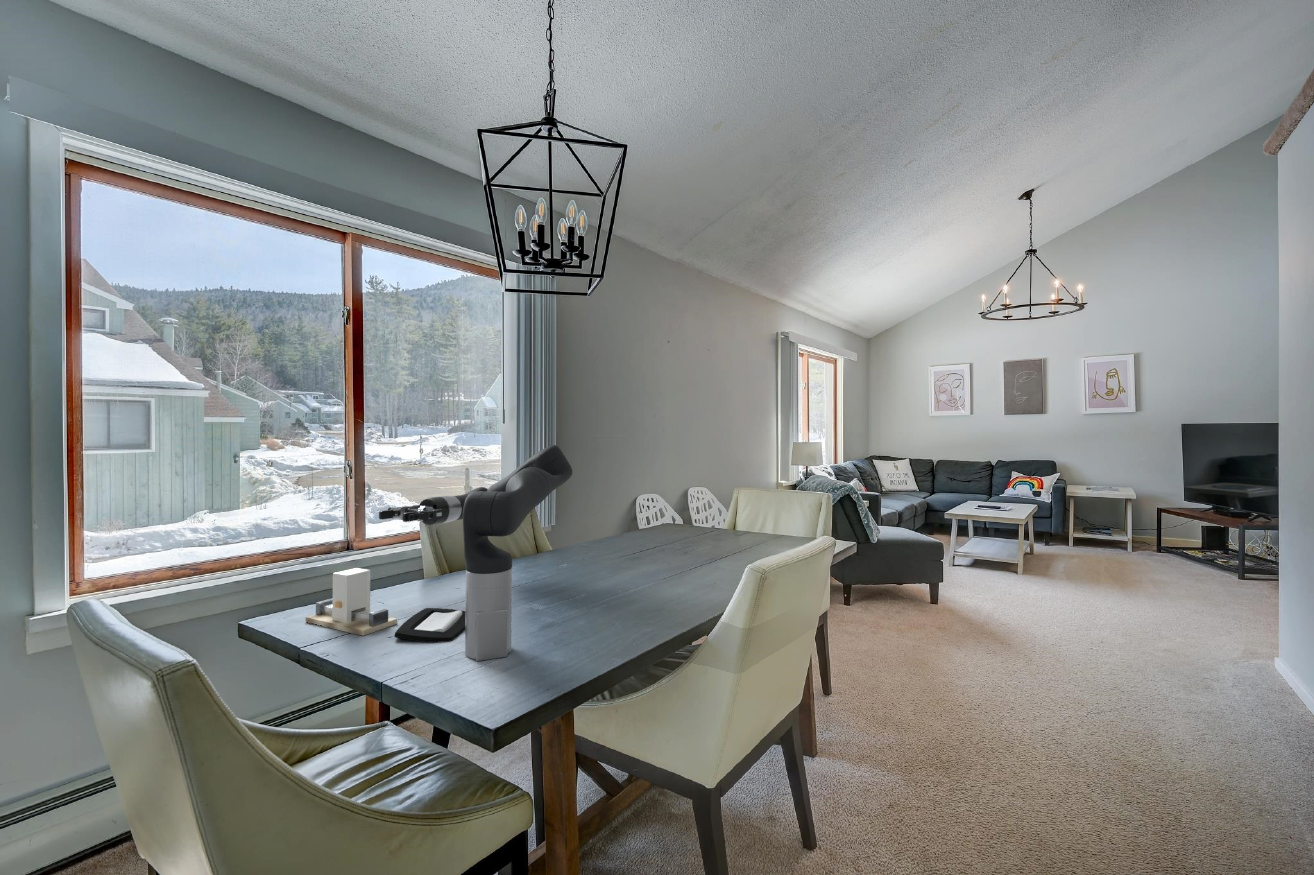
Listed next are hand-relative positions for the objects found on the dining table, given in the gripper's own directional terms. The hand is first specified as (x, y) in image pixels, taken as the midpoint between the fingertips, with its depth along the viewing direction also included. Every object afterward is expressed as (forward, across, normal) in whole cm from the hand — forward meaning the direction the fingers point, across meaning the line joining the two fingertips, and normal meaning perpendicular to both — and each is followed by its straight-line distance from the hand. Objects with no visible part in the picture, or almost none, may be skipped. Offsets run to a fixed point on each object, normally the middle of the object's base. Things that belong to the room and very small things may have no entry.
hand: (391, 516), depth 146 cm
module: (+11, 0, -23) cm, 25 cm away
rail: (+11, 0, -23) cm, 25 cm away
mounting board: (+11, 0, -24) cm, 26 cm away
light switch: (+4, -20, -24) cm, 32 cm away
